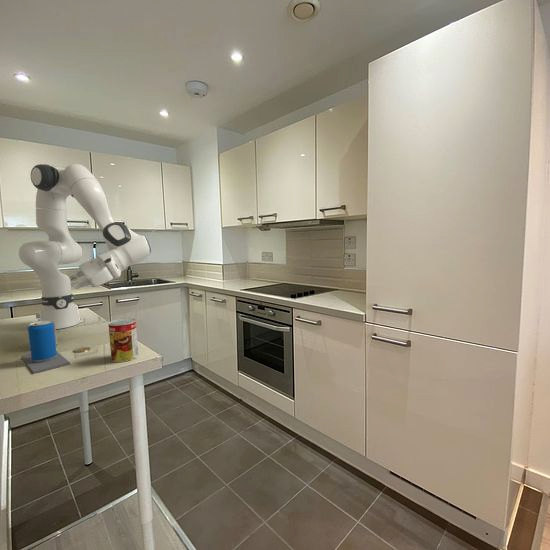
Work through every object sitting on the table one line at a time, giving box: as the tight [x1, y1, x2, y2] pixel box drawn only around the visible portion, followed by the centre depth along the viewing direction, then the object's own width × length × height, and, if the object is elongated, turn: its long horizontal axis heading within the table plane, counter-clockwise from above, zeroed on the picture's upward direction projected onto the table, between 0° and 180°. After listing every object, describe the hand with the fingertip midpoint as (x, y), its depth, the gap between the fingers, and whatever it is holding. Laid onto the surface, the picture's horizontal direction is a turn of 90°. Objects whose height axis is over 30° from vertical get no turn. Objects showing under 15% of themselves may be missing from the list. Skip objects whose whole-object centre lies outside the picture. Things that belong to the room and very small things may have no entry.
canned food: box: [108, 318, 139, 363], centre depth 100 cm, size 8×8×12 cm
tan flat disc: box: [72, 346, 91, 354], centre depth 109 cm, size 5×5×1 cm
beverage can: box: [27, 320, 57, 362], centre depth 99 cm, size 6×6×12 cm
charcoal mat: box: [21, 350, 71, 374], centre depth 100 cm, size 20×9×1 cm, turn 47°
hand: (72, 283), depth 110 cm, fingers open, 8 cm apart
